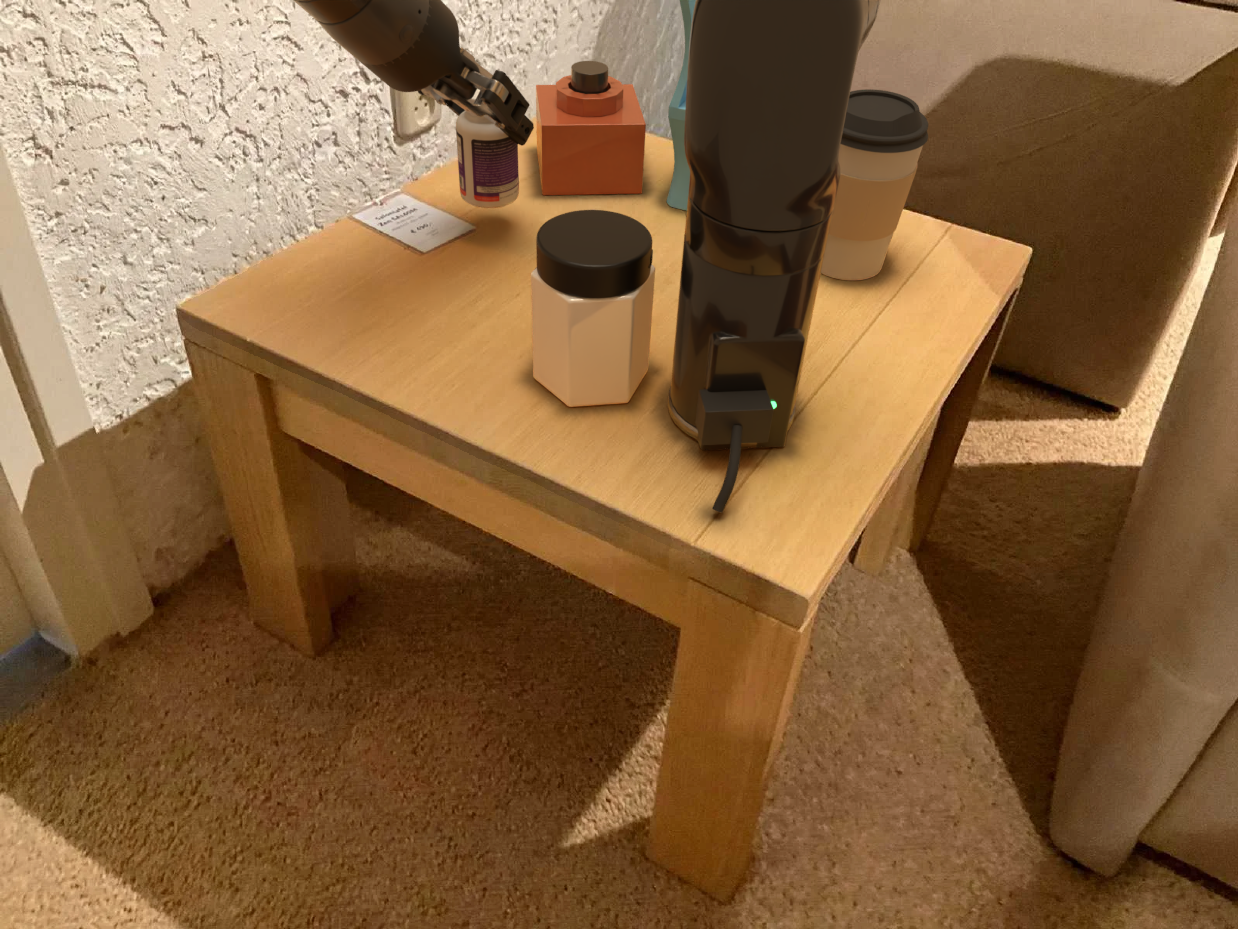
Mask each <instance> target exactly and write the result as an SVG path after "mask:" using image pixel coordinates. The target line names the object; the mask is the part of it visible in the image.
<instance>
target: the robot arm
mask: <svg viewBox="0 0 1238 929" xmlns="http://www.w3.org/2000/svg"><path fill="white" fill-rule="evenodd" d="M292 1H293V2H294V3H295V4H297V6H299V7H300V8H301V9H302V10H304V11H305V12H306V13H307V14H308V15H309V16H311V18H313V19H314V20H315V21H316V22H317V23H318V24H319V25H320V26H321V28H323V30H324V31H325V32H326V33H327V34H328V35H329V37H330V38H332V40H334V41H335V42H336V43H337V44H338V45H339V46H341V48H343V49H344V50H345V51H346V52H348V53H349V54H350V55H351V56H352V57H353V58H355V59H356V60H357V61H358V62H359V63H360V64H362V65H363V66H364V67H365V68H366V69H368V71H370V72H371V73H372V74H374V76H376V77H377V78H378V79H379V80H380V81H382V82H383V83H385V85H387V86H388V87H389V88H391V89H393V90H394V91H397V92H401V93H415V92H417V93H418V94H419V95H420V96H425V97H428V98H430V99H431V100H433V101H436V103H437V104H438V105H440V106H442V105H443V106H445V107H447V108H449V109H450V110H451V111H452V112H453V113H454V114H455V115H456V116H457V117H458V116H459V115H460V114H461V113H462V112H464V111H465V110H466V111H467V112H468V113H470V114H471V115H473V116H479V117H482V116H484V117H485V118H487V119H488V120H489V121H491V122H492V123H494V124H495V126H496V127H498V128H500V129H501V130H502V131H503V132H504V133H505V134H506V135H507V136H508V137H509V138H511V139H512V140H513V141H514V142H515V143H517V144H518V146H521V147H522V146H525V145H526V144H527V142H528V141H529V138H530V136H531V134H532V133H533V131H534V129H535V128H534V127H535V126H534V123H533V121H532V120H531V119H530V118H529V117H528V116H527V115H526V113H527V111H528V109H529V108H530V104H531V103H529V102H528V100H527V99H526V98H525V96H524V95H523V94H522V93H521V91H520V90H519V88H517V86H516V84H514V82H513V80H512V79H511V78H510V76H508V75H507V73H505V71H502V70H499V69H495V70H494V73H491V72H490V71H488V70H487V69H485V68H484V67H483V66H482V65H480V64H479V63H478V62H477V61H476V57H475V56H474V55H473V54H471V53H470V52H469V51H467V50H466V49H465V48H464V47H461V46H460V28H459V24H458V21H457V18H456V16H455V14H454V13H453V11H452V10H451V9H450V8H449V7H448V6H447V4H445V3H444V2H443V1H442V0H292ZM880 4H881V0H696V2H695V7H694V12H693V18H692V25H691V33H690V44H689V58H688V74H687V92H686V112H685V134H684V146H685V155H686V159H687V163H688V166H689V169H690V183H689V194H688V204H687V211H686V217H685V228H684V235H683V236H684V237H683V245H682V246H683V247H682V258H681V268H680V269H681V270H680V279H679V290H678V291H679V292H678V300H677V301H678V302H677V311H676V312H677V313H676V323H675V332H674V344H673V356H672V369H671V370H672V372H671V380H670V381H671V382H670V387H669V389H668V398H667V408H668V413H669V416H670V419H672V421H673V422H674V424H675V425H676V426H677V427H678V428H679V429H680V430H681V431H682V432H683V433H684V434H686V435H687V436H689V437H691V438H692V439H694V440H696V441H697V443H698V447H699V449H700V450H702V451H720V450H721V451H722V450H724V451H725V450H729V453H728V454H729V455H728V463H727V468H726V472H725V475H724V476H725V477H724V479H723V482H722V485H721V487H720V490H719V491H718V495H717V497H716V499H715V501H714V503H713V505H712V508H711V509H712V510H713V511H715V512H717V513H721V514H723V512H724V511H725V508H726V506H727V504H728V502H729V499H730V497H731V495H732V493H733V490H734V488H735V485H736V481H737V478H738V473H739V469H740V464H741V463H740V462H741V453H742V452H741V451H742V450H748V449H764V448H765V449H766V448H782V447H785V445H786V440H787V436H788V432H789V430H790V429H791V427H792V425H793V422H794V418H795V414H796V406H797V405H796V404H797V403H796V401H797V396H798V391H799V385H800V382H801V381H800V380H801V376H802V371H803V370H802V369H803V365H804V360H805V355H806V351H807V350H806V349H807V344H808V338H809V335H810V329H811V325H812V324H811V323H812V319H813V315H814V314H813V313H814V309H815V304H816V299H817V294H818V288H819V284H820V279H821V275H822V273H821V269H822V264H823V259H824V254H825V250H826V245H827V240H828V235H829V230H830V225H831V220H832V215H833V209H834V206H835V201H836V196H837V191H838V186H839V181H840V165H839V162H838V159H839V149H840V143H841V138H842V133H843V127H844V122H845V117H846V111H847V106H848V101H849V95H850V92H851V91H852V90H851V89H852V84H853V79H854V74H855V70H856V65H857V61H858V56H859V52H860V50H861V49H862V47H863V45H864V43H865V41H866V40H867V38H868V36H869V35H870V33H871V31H872V28H873V26H874V24H875V21H876V19H877V16H878V12H879V10H880V9H879V8H880ZM477 89H479V90H480V92H479V94H478V96H477V98H476V100H475V101H474V103H473V104H472V103H470V102H469V101H468V100H469V99H471V98H472V97H473V96H474V94H475V92H476V90H477ZM489 108H490V109H491V110H492V111H490V110H489Z"/></svg>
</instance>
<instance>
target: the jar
mask: <svg viewBox="0 0 1238 929" xmlns="http://www.w3.org/2000/svg"><path fill="white" fill-rule="evenodd" d="M535 244H536V248H535V249H536V267H535V268H534V269H533V270H532V271H531V273H530V288H531V290H530V292H531V294H530V296H531V329H532V330H531V332H532V335H531V336H532V337H531V338H532V376H533V378H534V379H535V381H537V382H538V383H539V384H541V385H542V386H543V387H544V388H545V389H546V390H548V391H549V392H551V394H552V395H553V396H555V397H556V398H557V399H559V400H560V401H561V402H562V403H563V404H564V405H566V406H567V407H569V408H574V407H587V406H588V407H591V406H603V405H617V404H618V405H619V404H627V403H629V402H630V400H631V399H632V397H633V396H634V394H635V392H636V391H637V389H638V387H639V386H640V384H641V382H642V381H643V379H644V377H645V376H646V374H647V373H648V370H649V364H650V363H649V362H650V351H651V349H650V348H651V335H652V323H653V322H652V321H653V308H654V294H655V279H656V267H655V265H653V264H652V263H653V257H654V249H653V236H652V234H651V232H650V231H649V229H648V228H647V226H645V225H644V224H643V223H642V222H640V221H639V220H637V219H635V218H634V217H631V216H628V215H626V214H623V213H620V212H615V211H611V210H604V209H580V210H579V209H578V210H572V211H568V212H564V213H561V214H558V215H556V216H554V217H551V218H550V219H548V220H546V221H545V222H544V223H543V224H542V225H541V226H540V228H539V229H538V231H537V232H536V237H535Z"/></svg>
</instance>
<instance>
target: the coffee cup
mask: <svg viewBox="0 0 1238 929" xmlns="http://www.w3.org/2000/svg"><path fill="white" fill-rule="evenodd" d="M928 129H929V121H928V120H927V117H926V116H925V115H924V114H923V113H922V112H921V111H920V107H919V104H918V103H917V102H916V101H914V100H913V99H912V98H910V97H907V95H906V96H905V95H903V94H900V93H898V92H893V91H890V90H889V91H888V90H883V89H871V88H869V89H867V88H866V89H856V90H850V95H849V101H848V106H847V111H846V117H845V122H844V127H843V133H842V138H841V143H840V149H839V159H838V162H839V165H840V181H839V186H838V191H837V196H836V201H835V206H834V209H833V215H832V220H831V225H830V230H829V235H828V240H827V245H826V250H825V254H824V259H823V264H822V269H821V275H824V276H827V277H830V278H833V279H837V280H843V281H863V280H867V279H871V278H873V277H875V276H877V275H878V274H879V273H881V271H882V268H883V265H884V263H885V259H886V256H887V254H888V251H889V248H890V245H891V242H892V240H893V236H894V234H895V231H897V228H898V225H899V223H900V219H901V217H902V215H903V214H902V213H903V210H904V208H905V204H906V202H907V200H908V196H909V194H910V191H911V188H912V185H913V181H914V179H915V177H916V173H917V170H918V168H919V163H918V161H919V159H920V156H921V152H922V150H923V147H924V145H925V144H927V142H928V140H929V133H928Z"/></svg>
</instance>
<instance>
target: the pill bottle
mask: <svg viewBox="0 0 1238 929" xmlns="http://www.w3.org/2000/svg"><path fill="white" fill-rule="evenodd" d="M479 92H480V90H479V89H477V90H476V92H475V94H474V96H473V97H472V98H471V99H469V100H468V101H469V102H470V103H472V104H473V103H474V101H475V100H476V98H477V96H478V94H479ZM489 110H490V111H492V110H491V109H490V108H489ZM455 134H456V135H455V137H456V138H455V139H456V150H457V151H456V152H457V168H458V182H459V192H460V197H461V199H462V200H463V201H464V202H465V203H466V204H468V205H471V206H474V207H477V208H481V209H497V208H502V207H506V206H508V205H510V204H512V203H514V202H516V200H517V199H518V197H519V195H520V178H519V176H520V175H519V144H517V143H515V142H514V141H513V140H512V139H511V138H509V137H508V136H507V135H506V134H505V133H504V132H503V131H502V130H501V129H500V128H498V127H496V126H495V124H494V123H492V122H491V121H489V120H488V119H487V118H485V117H484V116H482V117H479V116H473V115H471V114H470V113H468V112H467V111H466V110H465V111H464V112H462V113H461V114H460V115H459V116H458V115H457V119H456V121H455Z"/></svg>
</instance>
